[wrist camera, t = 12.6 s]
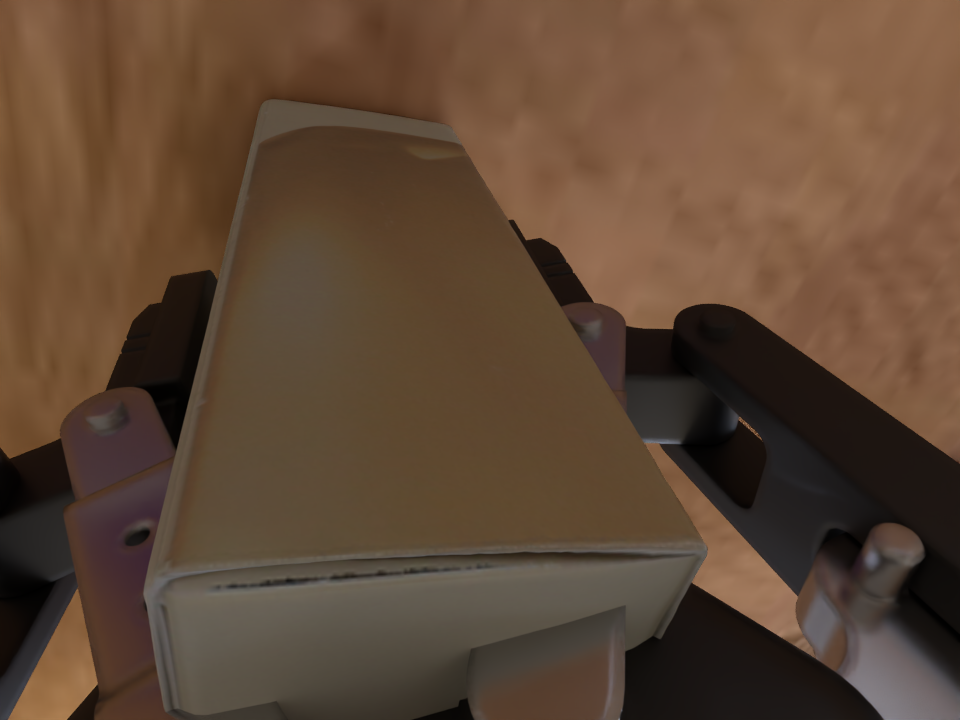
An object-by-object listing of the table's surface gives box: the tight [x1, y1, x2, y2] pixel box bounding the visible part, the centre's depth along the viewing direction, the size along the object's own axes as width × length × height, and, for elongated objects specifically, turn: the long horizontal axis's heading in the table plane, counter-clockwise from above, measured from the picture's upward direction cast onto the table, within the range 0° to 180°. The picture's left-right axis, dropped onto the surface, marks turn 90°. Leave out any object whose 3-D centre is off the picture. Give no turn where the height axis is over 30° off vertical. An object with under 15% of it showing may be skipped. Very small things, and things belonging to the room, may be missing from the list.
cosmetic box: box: [143, 99, 708, 720], centre depth 11 cm, size 6×4×12 cm
